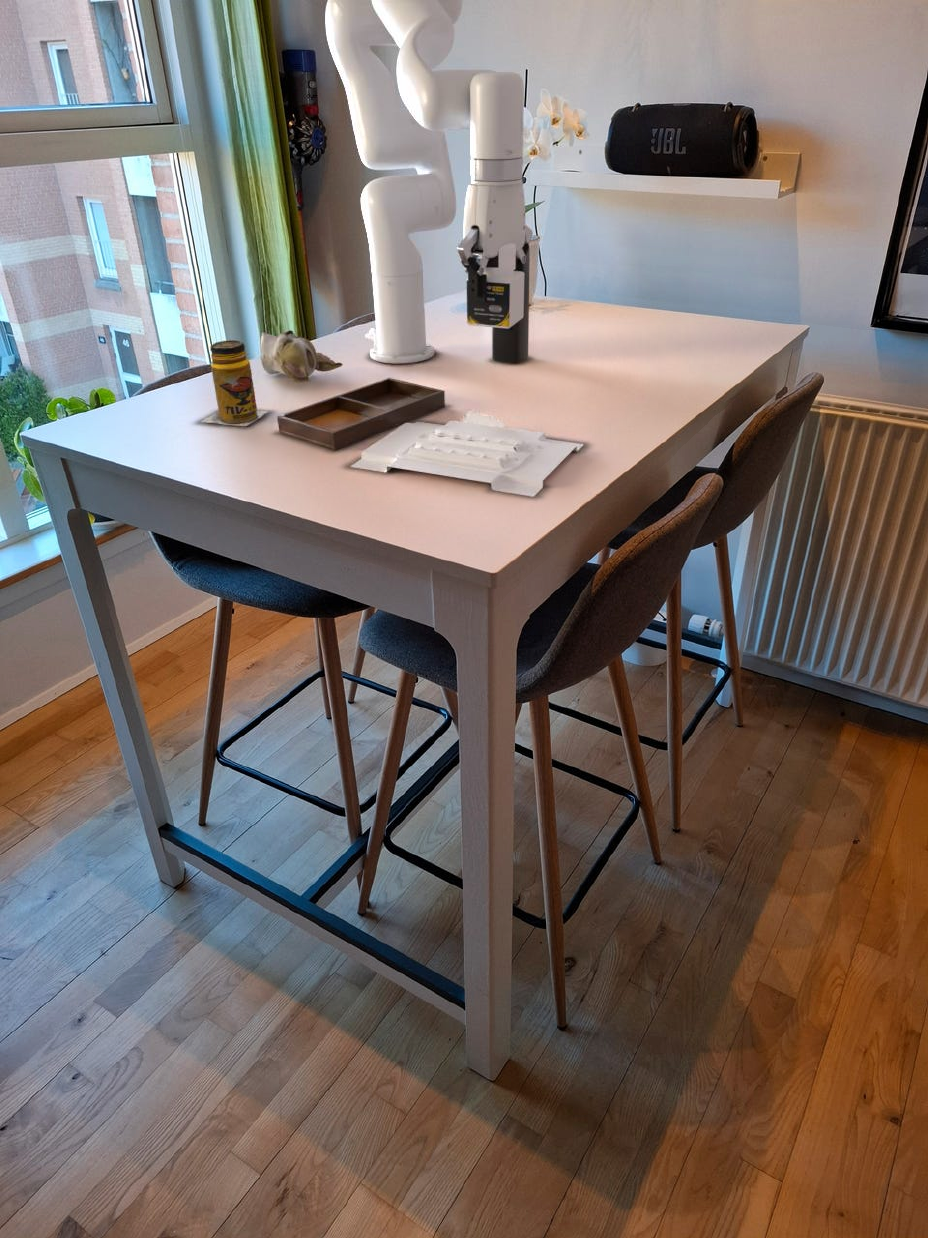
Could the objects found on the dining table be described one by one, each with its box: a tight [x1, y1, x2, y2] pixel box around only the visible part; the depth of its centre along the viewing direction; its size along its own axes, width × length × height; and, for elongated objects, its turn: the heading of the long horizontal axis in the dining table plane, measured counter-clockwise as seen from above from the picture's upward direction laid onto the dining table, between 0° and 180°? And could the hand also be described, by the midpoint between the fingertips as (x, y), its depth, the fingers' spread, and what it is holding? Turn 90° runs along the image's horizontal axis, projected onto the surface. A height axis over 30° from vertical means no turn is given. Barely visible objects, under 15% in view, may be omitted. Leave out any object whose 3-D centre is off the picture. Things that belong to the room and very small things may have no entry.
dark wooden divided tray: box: [276, 377, 446, 451], centre depth 141 cm, size 13×25×3 cm, turn 140°
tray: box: [349, 410, 585, 498], centre depth 127 cm, size 20×28×4 cm
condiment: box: [200, 339, 269, 427], centre depth 141 cm, size 7×8×12 cm
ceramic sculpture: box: [259, 330, 343, 383], centre depth 161 cm, size 11×9×15 cm
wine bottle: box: [491, 248, 531, 364], centre depth 162 cm, size 6×6×30 cm
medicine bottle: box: [466, 243, 524, 329], centre depth 137 cm, size 7×7×12 cm
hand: (496, 294), depth 138 cm, fingers closed on medicine bottle, 8 cm apart
